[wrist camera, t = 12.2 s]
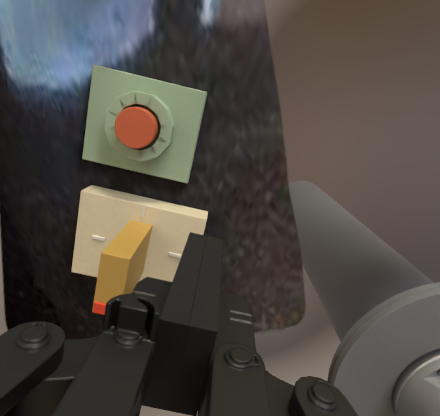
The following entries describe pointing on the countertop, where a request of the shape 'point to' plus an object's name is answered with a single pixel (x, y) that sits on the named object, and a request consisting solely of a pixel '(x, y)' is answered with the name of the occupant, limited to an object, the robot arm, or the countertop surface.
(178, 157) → the green push button box
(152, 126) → the bell button
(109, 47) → the countertop surface
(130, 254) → the thumbturn
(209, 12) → the countertop surface
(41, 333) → the robot arm
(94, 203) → the plate
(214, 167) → the countertop surface
